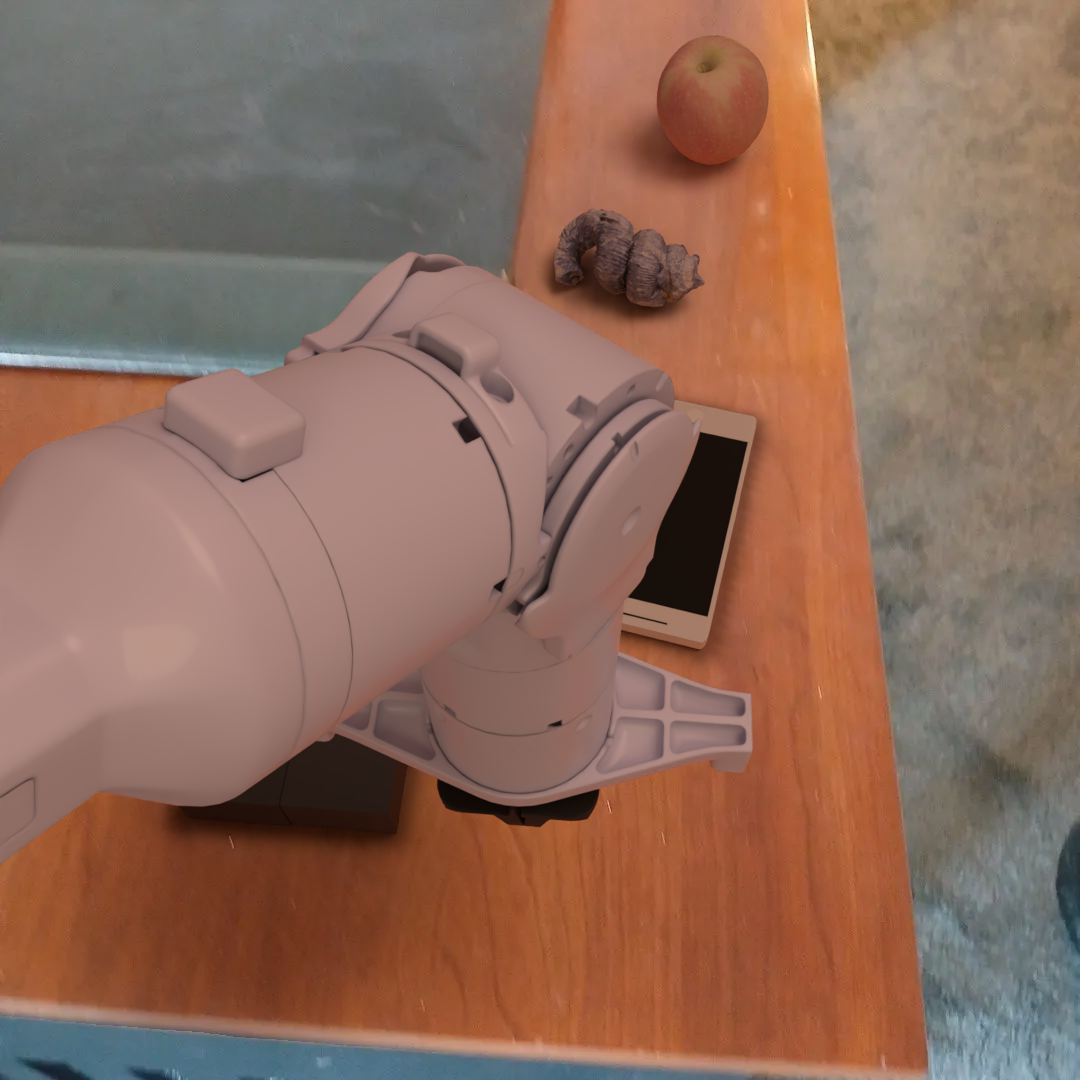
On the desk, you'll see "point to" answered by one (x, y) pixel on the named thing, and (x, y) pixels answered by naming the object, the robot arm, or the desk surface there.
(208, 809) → the pad
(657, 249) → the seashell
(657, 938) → the desk surface
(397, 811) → the pad
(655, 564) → the smartphone
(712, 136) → the apple
